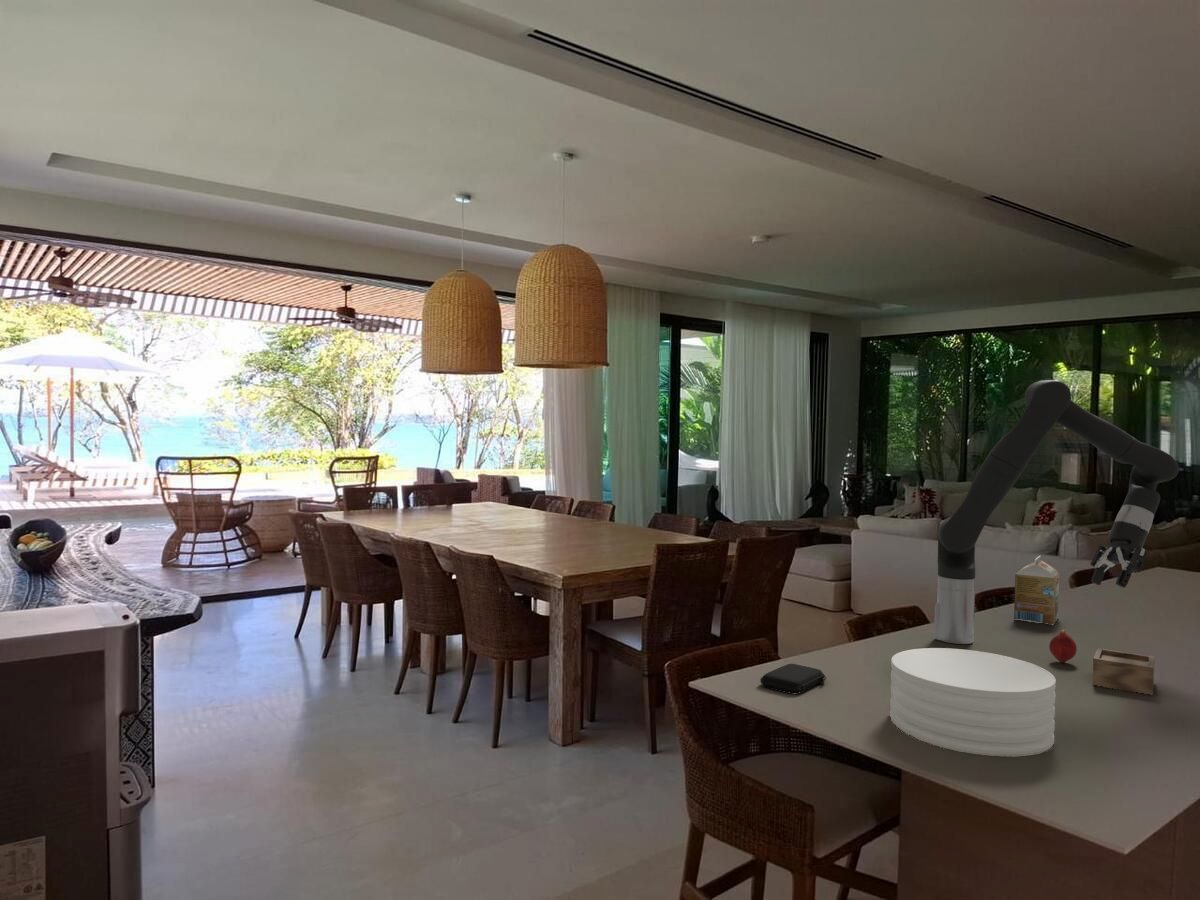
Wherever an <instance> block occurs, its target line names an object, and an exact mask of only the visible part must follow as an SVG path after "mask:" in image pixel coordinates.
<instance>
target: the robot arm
mask: <svg viewBox="0 0 1200 900" xmlns="http://www.w3.org/2000/svg"><path fill="white" fill-rule="evenodd" d="M1025 390H1026V391H1025V392H1024V398H1023V399H1024V402H1025V405H1026V408H1025V410H1024V411H1023V413H1022V415H1021V417H1020V418H1019V419H1018V421H1017V422H1016V424H1015V425H1014V426H1013V427H1012V428H1011V429H1010V430H1009V431H1008V432H1007V433H1006V434H1005V435H1004V436H1003V437H1002V438H1001V439H1000V440H998V442H997V443H996V444H995V445H994V446H993V448H991V450H990V452H989V453H988V454H987V455H986V457H985V459H984V461H983V462H982V464H981V465H980V467H979V469H978V470H977V472H976V474H975V476H974V479H973V481H972V482H971V485H970V487H969V491H968V493H967V494H966V496H965V498H964V500H963V501H962V503H961V504H960V506H959V507H958V508H957V509H956V511H955V512H954V513H953V514H952V515H951V516H950V517H948V518H946V519H944V520H943V522H942V523H941V524H940V525H939V528H938V532H937V533H938V534H937V590H936V591H937V594H936V595H937V597H936V598H937V599H936V600H937V601H936V603H935V604H934V626H933V627H934V634H933V635H934V636H933V639H934V640H938V641H941V642H944V643H949V644H954V645H955V644H957V645H968V644H969V645H970V644H973V643H974V640H975V639H974V637H975V634H974V633H975V599H976V598H975V596H976V593H975V592H976V591H975V590H976V560H975V557H976V555H975V554H976V553H975V552H976V543H977V542H978V539H979V538H980V535H981V533H982V531H983V530H984V527H985V525H986V524H987V521H988V520H989V518H990V517H991V516H992V514H993V512H994V511H995V510H996V508H997V507H998V506H999V505H1000V503H1001V502H1002V501H1003V499H1004V498H1006V496H1007V495H1008V493H1009V492H1010V491H1011V489H1012V488H1013V486H1015V484H1016V483H1017V481H1018V479H1020V477H1021V475H1022V473H1023V472H1024V470H1025V468H1026V467H1027V466H1028V463H1029V462H1030V460H1031V459H1032V458H1033V456H1034V454H1035V453H1036V451H1037V449H1038V448H1039V446H1040V444H1041V442H1042V441H1043V439H1044V438H1045V436H1046V435H1047V434H1048V432H1049V431H1050V430H1051V429H1052V428H1053V426H1054V425H1055V424H1056V423H1057V424H1058V425H1061V426H1063V427H1064V428H1066V429H1068V430H1070V431H1071V432H1073V433H1074V434H1077V436H1079V437H1080V438H1082V439H1083V440H1085V441H1086V442H1088V443H1090V444H1091V445H1092V446H1094V447H1095V448H1096V449H1098V450H1099V451H1101V452H1102V453H1104V454H1105V455H1107V456H1108V457H1110V458H1111V459H1113V460H1114V461H1116V462H1118V463H1120V464H1124V465H1126V464H1127V465H1133V467H1132V469H1131V472H1130V477H1129V483H1128V492H1127V493H1126V496H1125V499H1124V501H1123V503H1122V505H1121V507H1120V510H1119V511H1118V513H1117V514H1116V517H1115V519H1114V523H1113V525H1112V526H1111V529H1110V531H1109V534H1108V539H1109V542H1110V543H1109V545H1108V546H1104V545H1102V544H1099V545H1098V547H1097V549H1096V550H1095V553H1094V555H1093V558H1092V560H1091V561H1090V566H1092V567H1094V571H1093V574H1092V576H1091V579H1090V581H1091V583H1093V584H1095V585H1096V586H1101V584H1102V582H1103V579H1104V577H1105V576H1106V575H1105V574H1106V572H1107V570H1109V569H1110V568H1113V567H1114V566H1115V565H1121V570H1120V573H1119V574H1118V576H1117V579H1116V582H1115V585H1117V586H1118V587H1120V588H1126V587H1127V585H1128V584H1129V581H1130V579H1131V577H1132V575H1134V574H1135V573H1141V572H1142V570H1143V566H1144V564H1145V560H1146V558H1147V555H1148V550H1147V549H1145V548H1143V547H1144V544H1145V542H1146V540H1147V537H1148V536H1149V535H1148V534H1149V532H1150V530H1151V528H1152V525H1153V520H1154V518H1155V515H1156V513H1157V509H1158V507H1159V505H1160V501H1161V495H1160V492H1158V491H1156V490H1157V487H1158V485H1159V484H1160V483H1165V482H1169V481H1171V480H1173V479H1175V478H1176V477H1177V475H1178V474H1179V471H1180V470H1179V469H1180V468H1179V464H1178V462H1177V460H1176V459H1175V458H1174V456H1172V455H1171V454H1170V453H1167V452H1166V451H1164V450H1161V449H1159V448H1157V447H1155V446H1152V445H1151V444H1147V443H1145V442H1141V441H1139V440H1138V439H1137V438H1135V437H1134V436H1133V435H1130V434H1129V433H1127V432H1126V431H1125V430H1123V429H1122V428H1120V427H1118V426H1116V425H1115V424H1113V423H1112V422H1110V421H1108V420H1105V419H1104V418H1101V417H1100V416H1097V415H1095V414H1093V413H1091V412H1089V411H1087V409H1084V408H1082V407H1081V406H1080V405H1079V404H1077V403H1076V402H1074V401H1073V400H1072V393H1071V392H1072V391H1071V389H1070V388H1069V386H1068V385H1067V384H1065V383H1064V382H1062V381H1060V380H1053V379H1052V380H1051V379H1050V380H1049V379H1045V380H1043V379H1042V380H1039V381H1036V382H1034V383H1032V384H1030V385H1029V386H1028V387H1027V389H1025ZM1136 563H1137V565H1136Z"/></svg>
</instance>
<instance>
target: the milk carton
mask: <svg viewBox="0 0 1200 900" xmlns="http://www.w3.org/2000/svg"><path fill="white" fill-rule="evenodd" d="M1041 557H1042V556H1041V555H1039V556H1037V557H1036V558H1035V559H1034V561H1033V562H1031V563H1029V564H1027V565H1025V566H1023V567H1022V568H1021V569H1019V570H1018V571H1017V572H1016V573H1015V575H1014V578H1015V579H1014V612H1013V613H1014V616H1013V620H1014V619H1023V620H1031V621H1036V622H1042V623H1048V624H1055V625H1056V623H1057V622H1058V620H1059V612H1060V611H1059V608H1060V607H1059V605H1060V601H1059V599H1060V575H1061V574H1060V572H1059V571H1058V570H1056V568H1054V566H1051V565H1050V564H1048V563H1047V562H1045V561H1043V560H1042V559H1041ZM1057 619H1058V620H1057ZM1056 621H1057V622H1056ZM1055 622H1056V623H1055Z"/></svg>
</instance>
